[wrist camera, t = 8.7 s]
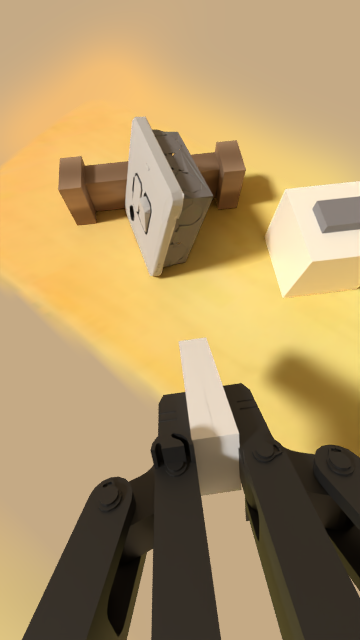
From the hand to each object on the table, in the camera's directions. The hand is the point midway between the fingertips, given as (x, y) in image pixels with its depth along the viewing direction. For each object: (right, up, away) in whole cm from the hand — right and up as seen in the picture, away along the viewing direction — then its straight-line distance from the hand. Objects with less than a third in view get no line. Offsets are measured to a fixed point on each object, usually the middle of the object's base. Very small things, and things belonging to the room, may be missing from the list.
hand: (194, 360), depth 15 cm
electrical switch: (-3, +11, +13) cm, 17 cm away
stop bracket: (-4, +16, +14) cm, 22 cm away
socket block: (+12, +8, +11) cm, 18 cm away
